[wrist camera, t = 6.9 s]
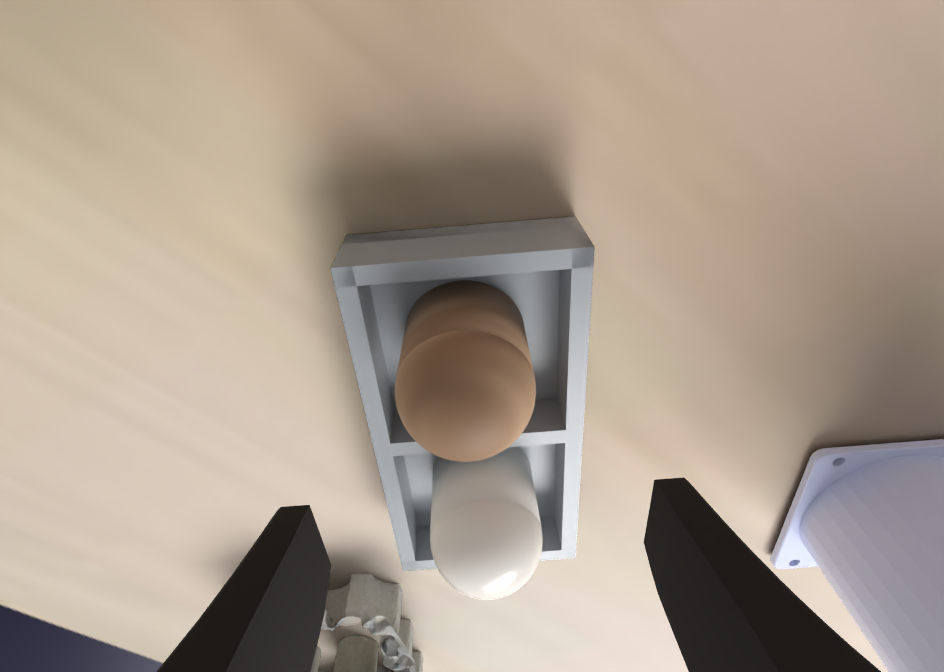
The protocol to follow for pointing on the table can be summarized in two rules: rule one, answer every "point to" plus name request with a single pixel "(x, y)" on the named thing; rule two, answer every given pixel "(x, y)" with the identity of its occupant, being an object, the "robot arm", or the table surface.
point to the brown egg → (465, 372)
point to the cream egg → (485, 524)
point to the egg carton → (370, 627)
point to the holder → (549, 340)
